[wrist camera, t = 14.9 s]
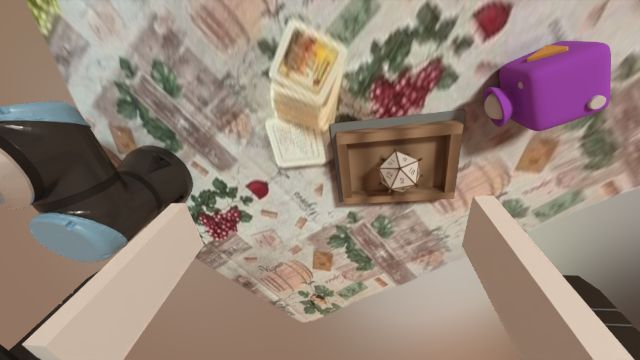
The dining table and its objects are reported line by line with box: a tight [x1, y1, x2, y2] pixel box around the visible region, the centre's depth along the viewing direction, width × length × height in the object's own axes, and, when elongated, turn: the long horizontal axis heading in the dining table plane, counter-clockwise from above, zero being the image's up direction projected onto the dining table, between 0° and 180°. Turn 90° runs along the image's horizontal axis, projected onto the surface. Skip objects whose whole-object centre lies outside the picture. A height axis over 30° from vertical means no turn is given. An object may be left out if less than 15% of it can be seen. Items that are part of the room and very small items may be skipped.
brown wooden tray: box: [336, 120, 464, 204], centre depth 50 cm, size 22×15×4 cm
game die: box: [374, 146, 424, 196], centre depth 47 cm, size 9×8×10 cm
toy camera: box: [484, 41, 611, 131], centre depth 38 cm, size 11×14×10 cm
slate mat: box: [330, 110, 466, 202], centre depth 51 cm, size 24×18×1 cm
